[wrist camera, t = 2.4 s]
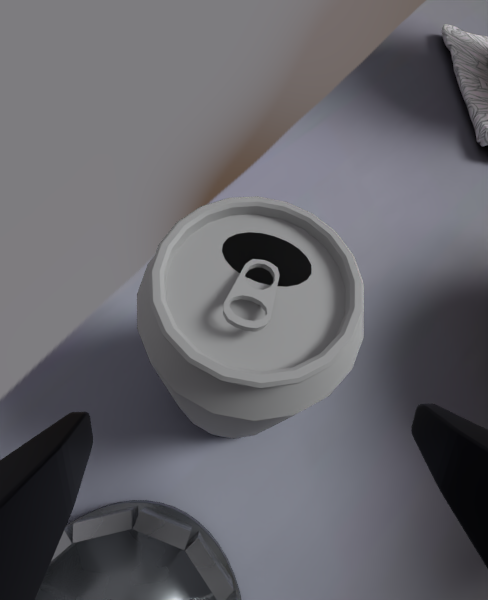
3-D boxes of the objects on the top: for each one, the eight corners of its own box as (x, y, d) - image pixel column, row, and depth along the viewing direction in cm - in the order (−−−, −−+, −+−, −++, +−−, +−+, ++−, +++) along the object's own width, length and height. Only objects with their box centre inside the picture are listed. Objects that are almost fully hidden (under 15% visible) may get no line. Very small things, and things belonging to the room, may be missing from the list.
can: (305, 338, 21) (402, 216, 10) (275, 458, 18) (372, 461, 7) (199, 302, 22) (187, 150, 11) (150, 412, 18) (64, 350, 8)
